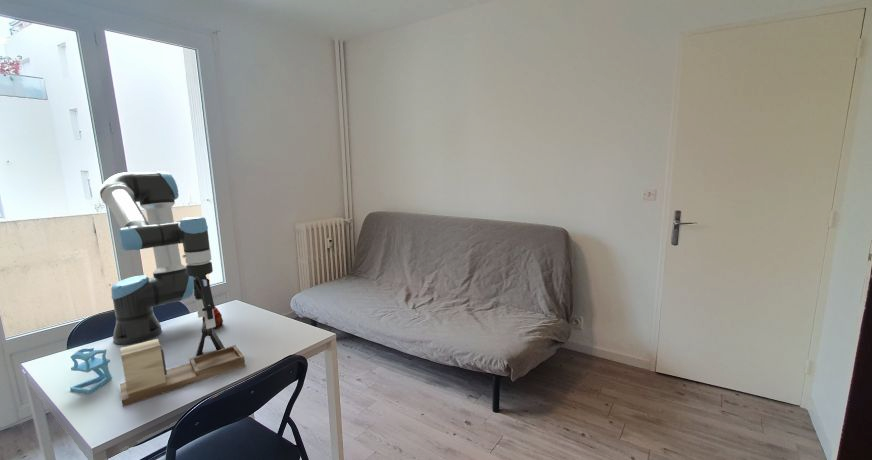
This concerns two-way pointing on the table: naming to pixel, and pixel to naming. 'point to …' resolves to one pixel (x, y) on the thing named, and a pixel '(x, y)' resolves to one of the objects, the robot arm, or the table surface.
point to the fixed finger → (143, 365)
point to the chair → (91, 368)
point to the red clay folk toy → (216, 319)
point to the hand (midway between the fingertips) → (206, 321)
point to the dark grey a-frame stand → (213, 337)
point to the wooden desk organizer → (189, 373)
